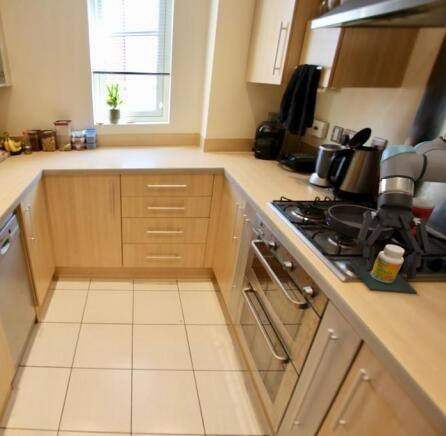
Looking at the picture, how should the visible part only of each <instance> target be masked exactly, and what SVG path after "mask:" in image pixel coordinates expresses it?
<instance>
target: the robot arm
mask: <svg viewBox="0 0 446 436" xmlns="http://www.w3.org/2000/svg"><path fill="white" fill-rule="evenodd" d="M380 159H381V160H380V164H379V166H380V171H379V183H378V195H377V196H378V197H377V206H376V209H377V211H376V212H371V211H369V210H368V211H366V212H365V213H364V214H363V219H364V221H363V224H362V227H361V229H360V232H359V235H358V238H356V240H355V243H356V245H360V246H361V247H362V249H363V251H362V252H363V253H362V258H363V259H366V264H365V266H366V271H368V272H370V271H372V270H373V267H374V263H375V254H376V253H375V252H376V246H372V245H373V244H374V242H375V240H376V239H377V237H378V236H379V235H380V233H381V232H382V231H383V229H384V228H393V229H395V230H397V231H398V230H399V231H398V232H399V234H401V236H402V238H403V240H404V242H405V244H406V245H407V248H408V250H409V252H410V254H408V255H407V264H406V265H407V266H406V267H407V268H406V270H407V271H406V280H408V281H409V280H414V279H417V268H420V267H421V265H422V256H427V255H429V254H431V253H432V250H431V245H430V240H429V236H428V231H427V226H426V225H427V224H428V222H427V219H426V218H422V219H419V218H415V217H414V216H413V214H412V208H413V198H414V190H415V189H414V187H415V182H425V183H439V184H446V132H445V133H443V134H442V135H440V136H438V137H436V138H434V139H433V140H431V141H430V140H429V141H422V142H420V143H418V144H416V145H414V146H412V145H408V144H396V145H392V146H388V147H387V148H386V149H384V150H383V151H382V155H381V158H380ZM374 216H375V217H376V218H377V219H378V221H379V222H380V223H379V224H378V226H377V227H376V229H375V230H374V231H373V233H372V234H371V235H370V237H369V238H368V239H367V240H365V238H366V235H367V232H368V229H369V226H370V224H371V221H372V219H373V218H374ZM411 221H412V222H413V223H414V226H415V231H416V235H413V233H412V231H411V227H410V225H409V223H410V222H411ZM426 223H427V224H426ZM415 236H416V237H415Z"/></svg>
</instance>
